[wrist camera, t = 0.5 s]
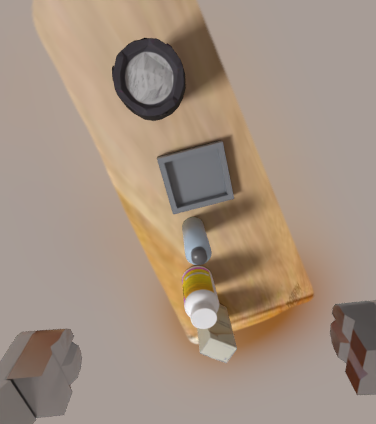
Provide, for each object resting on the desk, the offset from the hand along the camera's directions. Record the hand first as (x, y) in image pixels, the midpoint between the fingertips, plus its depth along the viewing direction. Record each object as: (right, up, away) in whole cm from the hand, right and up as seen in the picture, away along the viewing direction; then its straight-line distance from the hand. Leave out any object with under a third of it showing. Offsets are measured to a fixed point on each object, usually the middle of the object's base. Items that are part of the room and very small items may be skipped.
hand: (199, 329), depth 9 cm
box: (+1, +10, +46) cm, 47 cm away
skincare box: (+5, -18, +58) cm, 61 cm away
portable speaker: (-6, +25, +41) cm, 48 cm away
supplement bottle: (+2, -11, +55) cm, 56 cm away
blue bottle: (+1, +1, +50) cm, 50 cm away
